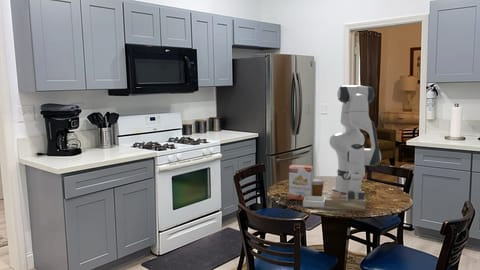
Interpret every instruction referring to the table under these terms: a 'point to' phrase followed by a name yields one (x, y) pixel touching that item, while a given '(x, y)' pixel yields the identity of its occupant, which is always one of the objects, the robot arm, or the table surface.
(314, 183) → the disposable coffee cup
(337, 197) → the tile
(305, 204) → the box
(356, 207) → the bench plate
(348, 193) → the grey block
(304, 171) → the cracker box
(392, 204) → the table surface
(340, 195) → the tile
